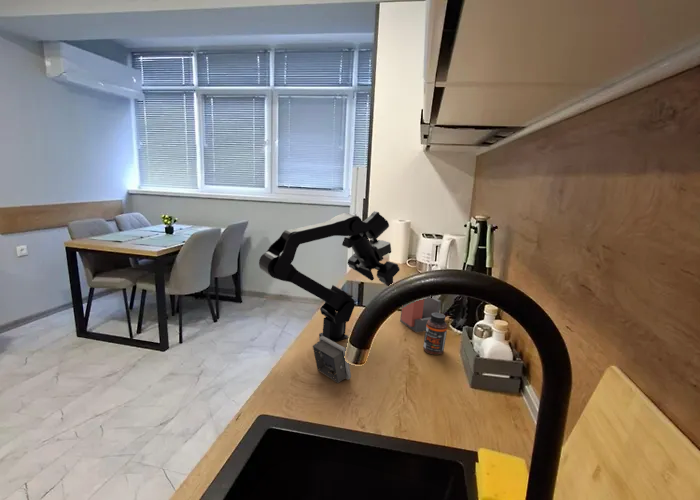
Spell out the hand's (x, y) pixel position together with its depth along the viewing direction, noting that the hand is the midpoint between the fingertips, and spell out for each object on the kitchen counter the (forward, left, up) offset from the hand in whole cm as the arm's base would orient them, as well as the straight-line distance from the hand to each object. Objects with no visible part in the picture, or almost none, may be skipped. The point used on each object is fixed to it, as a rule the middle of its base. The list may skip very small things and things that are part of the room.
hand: (382, 283), depth 124 cm
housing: (+12, -8, -15) cm, 20 cm away
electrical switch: (-33, -14, -15) cm, 39 cm away
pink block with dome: (+9, -7, -13) cm, 17 cm away
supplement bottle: (0, -22, -15) cm, 26 cm away
